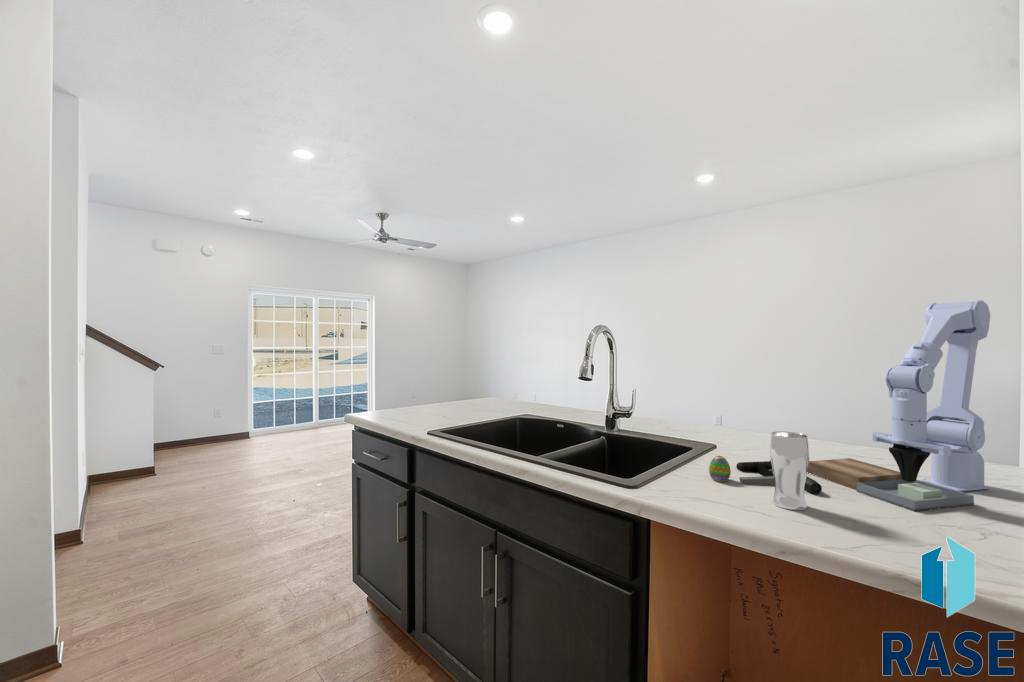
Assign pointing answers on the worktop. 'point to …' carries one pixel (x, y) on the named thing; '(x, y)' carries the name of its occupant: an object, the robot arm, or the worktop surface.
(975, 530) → the worktop surface
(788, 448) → the beer glass
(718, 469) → the egg
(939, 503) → the tray
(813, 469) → the wooden cutting board
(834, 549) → the worktop surface
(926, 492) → the block
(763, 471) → the door handle
